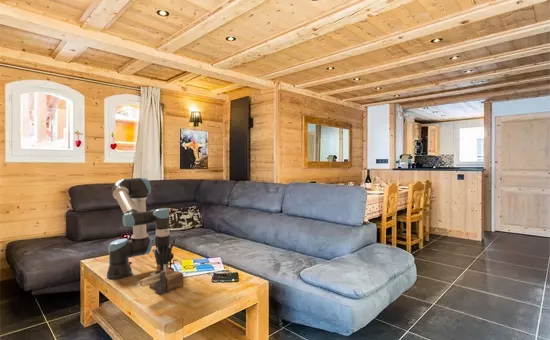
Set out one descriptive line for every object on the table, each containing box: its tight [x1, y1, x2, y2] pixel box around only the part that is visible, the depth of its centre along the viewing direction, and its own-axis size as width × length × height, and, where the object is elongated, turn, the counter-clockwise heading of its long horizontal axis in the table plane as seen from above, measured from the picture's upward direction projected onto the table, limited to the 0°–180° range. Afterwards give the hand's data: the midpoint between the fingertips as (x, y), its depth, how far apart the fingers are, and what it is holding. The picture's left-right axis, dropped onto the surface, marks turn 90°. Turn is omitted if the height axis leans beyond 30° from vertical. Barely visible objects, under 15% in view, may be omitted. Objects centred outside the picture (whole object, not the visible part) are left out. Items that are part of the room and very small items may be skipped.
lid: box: [149, 263, 184, 281], centre depth 190 cm, size 16×11×9 cm
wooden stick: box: [139, 272, 162, 288], centre depth 176 cm, size 3×14×3 cm, turn 150°
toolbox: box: [148, 270, 184, 296], centre depth 188 cm, size 16×16×12 cm
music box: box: [155, 250, 177, 271], centre depth 210 cm, size 15×11×20 cm
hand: (163, 275), depth 183 cm, fingers closed
